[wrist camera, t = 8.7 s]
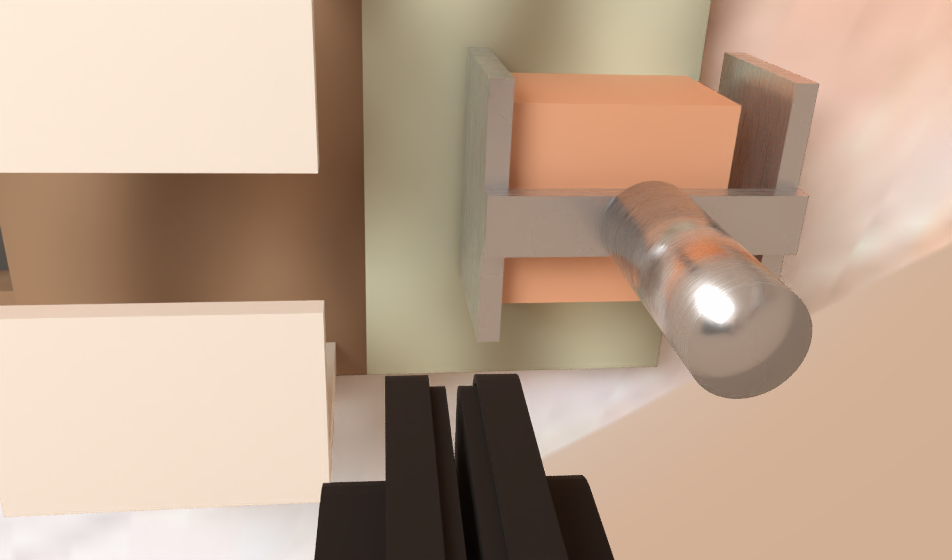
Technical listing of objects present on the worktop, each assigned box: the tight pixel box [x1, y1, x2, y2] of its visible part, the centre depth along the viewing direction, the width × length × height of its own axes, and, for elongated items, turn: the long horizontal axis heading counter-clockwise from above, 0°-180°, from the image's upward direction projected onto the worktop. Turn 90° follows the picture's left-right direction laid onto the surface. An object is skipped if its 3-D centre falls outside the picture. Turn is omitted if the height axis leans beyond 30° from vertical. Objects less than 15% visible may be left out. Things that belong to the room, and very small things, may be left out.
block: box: [502, 73, 742, 303], centre depth 24 cm, size 6×6×4 cm
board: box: [0, 0, 711, 376], centre depth 25 cm, size 30×14×2 cm, turn 89°
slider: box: [459, 47, 819, 399], centre depth 21 cm, size 8×7×11 cm
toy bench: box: [0, 0, 336, 517], centre depth 22 cm, size 8×14×6 cm, turn 179°
